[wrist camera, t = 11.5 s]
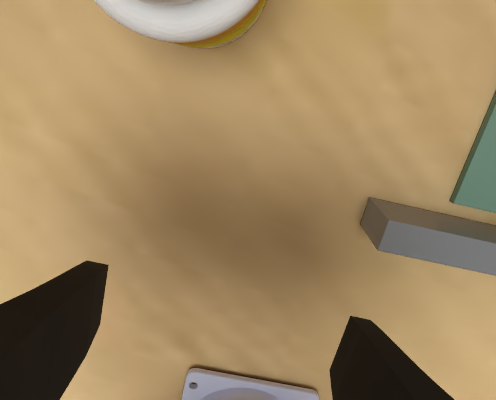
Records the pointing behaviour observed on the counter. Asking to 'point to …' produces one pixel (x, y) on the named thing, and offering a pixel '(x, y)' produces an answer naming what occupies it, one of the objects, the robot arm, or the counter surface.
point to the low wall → (430, 236)
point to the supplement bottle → (186, 19)
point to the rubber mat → (480, 168)
